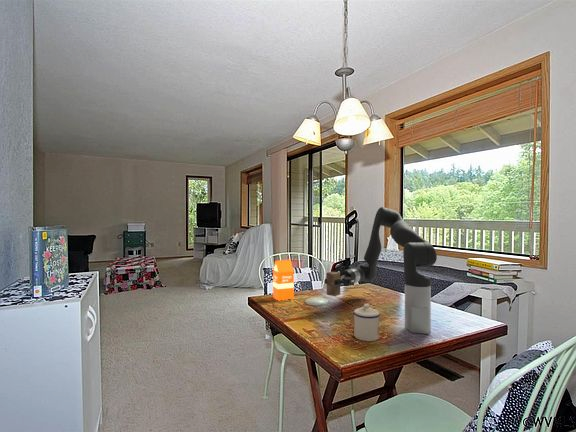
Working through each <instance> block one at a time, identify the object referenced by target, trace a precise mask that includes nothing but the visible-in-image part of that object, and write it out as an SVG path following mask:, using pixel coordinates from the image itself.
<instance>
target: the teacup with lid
mask: <svg viewBox="0 0 576 432" xmlns="http://www.w3.org/2000/svg"><path fill="white" fill-rule="evenodd" d="M380 316H381V314H380V311H378V310H377V309H375V308H372V307H371V306H370V304H368V303H364V304H363V306H361V307H358V308H355V309H354V311H353V317H354V320H353V321H354V322H353V323H354V326H353V327H354V328H353V329H354V331H353V332H354V333H353V334H354V335H353V336H354V337H355V338H356V339H357V340H359V341H364V342H375V341H377V340H379V338H380Z"/></svg>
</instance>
